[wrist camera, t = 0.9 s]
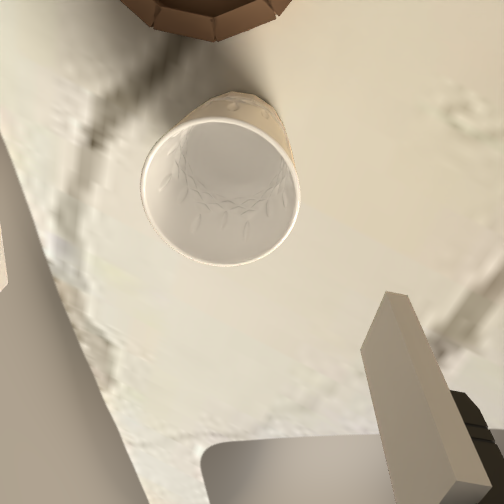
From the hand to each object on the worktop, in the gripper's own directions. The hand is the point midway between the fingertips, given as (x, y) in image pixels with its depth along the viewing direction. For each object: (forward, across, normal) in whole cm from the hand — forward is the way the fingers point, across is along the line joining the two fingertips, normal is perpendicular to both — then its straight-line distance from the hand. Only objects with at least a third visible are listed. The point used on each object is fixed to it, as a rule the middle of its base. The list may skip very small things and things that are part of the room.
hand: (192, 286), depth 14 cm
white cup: (+17, 0, 0) cm, 17 cm away
